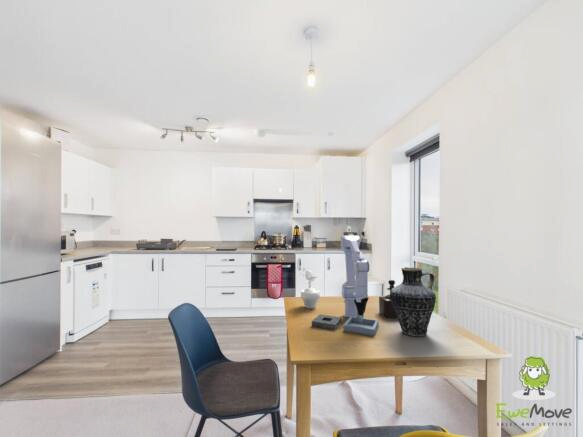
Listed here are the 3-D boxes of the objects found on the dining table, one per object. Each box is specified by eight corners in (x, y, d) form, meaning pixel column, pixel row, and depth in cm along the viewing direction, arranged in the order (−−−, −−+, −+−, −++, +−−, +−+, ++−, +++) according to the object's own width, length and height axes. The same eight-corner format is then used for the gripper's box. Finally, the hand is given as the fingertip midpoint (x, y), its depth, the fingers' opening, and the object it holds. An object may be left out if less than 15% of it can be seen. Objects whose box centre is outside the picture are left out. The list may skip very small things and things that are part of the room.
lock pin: (356, 318, 143) (358, 300, 143) (364, 320, 142) (366, 302, 142) (354, 320, 140) (356, 302, 140) (363, 322, 138) (364, 304, 138)
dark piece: (405, 318, 156) (405, 284, 156) (385, 318, 156) (385, 284, 156) (394, 309, 172) (393, 279, 172) (375, 309, 171) (375, 279, 171)
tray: (350, 322, 150) (350, 316, 150) (378, 326, 144) (378, 320, 144) (343, 331, 137) (343, 325, 137) (374, 336, 131) (374, 329, 131)
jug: (408, 343, 123) (407, 272, 124) (382, 327, 142) (381, 266, 143) (448, 338, 129) (447, 270, 129) (418, 323, 148) (417, 264, 148)
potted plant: (298, 305, 180) (298, 264, 181) (315, 303, 184) (315, 264, 184) (305, 311, 168) (305, 267, 169) (323, 309, 172) (323, 267, 172)
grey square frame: (319, 319, 155) (319, 314, 155) (341, 322, 150) (341, 317, 150) (311, 326, 144) (311, 321, 144) (335, 330, 139) (335, 324, 139)
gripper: (356, 282, 149) (356, 308, 149) (349, 287, 136) (349, 316, 136) (370, 283, 146) (370, 310, 146) (365, 289, 133) (365, 319, 133)
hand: (361, 313), depth 141 cm, fingers closed on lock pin, 4 cm apart
